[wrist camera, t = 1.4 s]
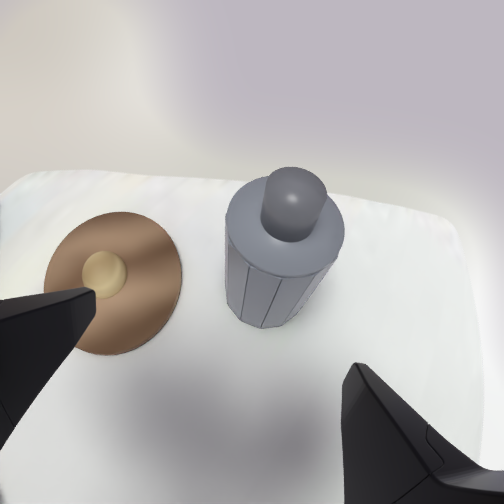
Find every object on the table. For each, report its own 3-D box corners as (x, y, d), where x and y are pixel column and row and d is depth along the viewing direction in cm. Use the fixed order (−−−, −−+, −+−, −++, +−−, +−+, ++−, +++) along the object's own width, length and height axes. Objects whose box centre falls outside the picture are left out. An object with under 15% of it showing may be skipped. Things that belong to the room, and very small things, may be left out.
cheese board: (213, 303, 25) (211, 284, 21) (88, 385, 20) (64, 380, 16) (142, 203, 30) (133, 176, 26) (40, 267, 25) (20, 248, 21)
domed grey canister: (316, 297, 25) (384, 206, 14) (258, 343, 23) (292, 277, 11) (269, 244, 27) (298, 132, 16) (210, 282, 25) (200, 175, 13)
